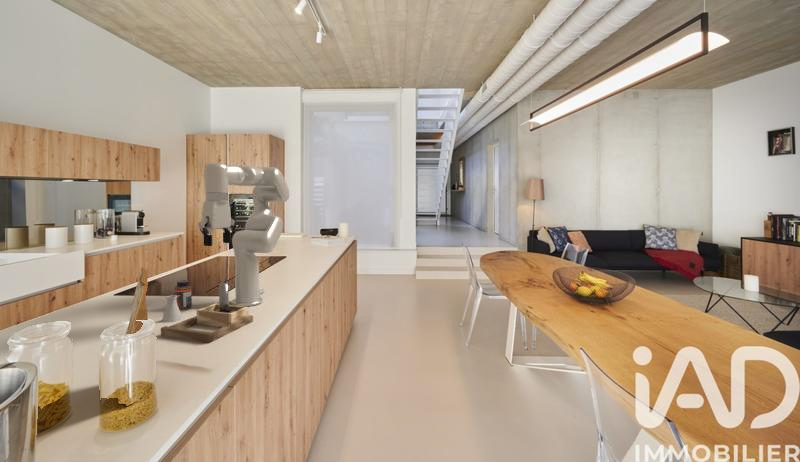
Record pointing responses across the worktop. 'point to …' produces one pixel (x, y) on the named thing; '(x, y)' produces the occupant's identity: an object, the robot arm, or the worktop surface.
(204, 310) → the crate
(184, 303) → the supplement bottle
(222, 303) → the handle peg
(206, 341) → the bay
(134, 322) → the pancake mix bag
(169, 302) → the flask
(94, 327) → the worktop surface
